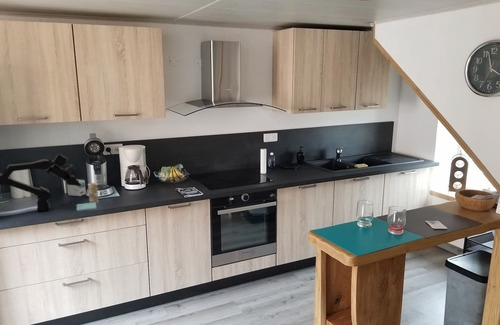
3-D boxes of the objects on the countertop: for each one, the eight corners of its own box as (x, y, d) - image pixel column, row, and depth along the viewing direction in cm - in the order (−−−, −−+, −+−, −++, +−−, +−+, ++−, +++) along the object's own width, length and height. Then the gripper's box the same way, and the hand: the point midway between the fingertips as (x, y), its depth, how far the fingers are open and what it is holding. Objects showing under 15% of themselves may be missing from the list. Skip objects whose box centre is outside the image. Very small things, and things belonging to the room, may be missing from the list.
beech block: (91, 203, 266) (89, 185, 263) (89, 201, 270) (87, 183, 267) (98, 202, 269) (97, 184, 266) (96, 200, 273) (95, 182, 270)
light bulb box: (86, 193, 288) (84, 179, 286) (80, 196, 282) (78, 182, 280) (74, 192, 291) (72, 178, 289) (67, 195, 285) (66, 181, 282)
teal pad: (76, 211, 251) (76, 209, 251) (76, 205, 261) (76, 204, 261) (96, 208, 255) (96, 207, 255) (95, 203, 266) (95, 202, 266)
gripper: (68, 164, 246) (89, 176, 255) (64, 159, 262) (84, 171, 270) (57, 178, 244) (79, 190, 253) (53, 172, 260) (74, 184, 268)
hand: (79, 183), depth 261 cm, fingers open, 9 cm apart
